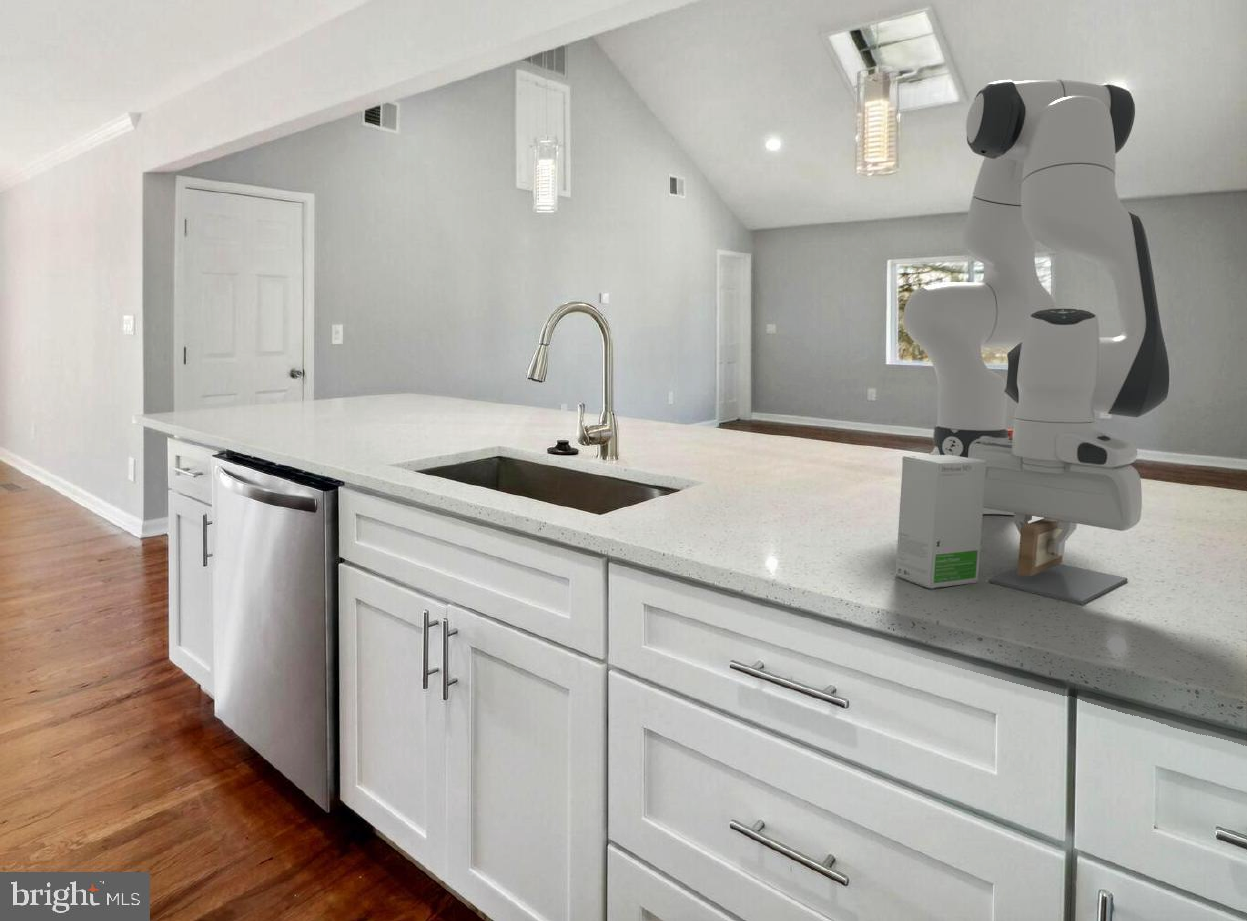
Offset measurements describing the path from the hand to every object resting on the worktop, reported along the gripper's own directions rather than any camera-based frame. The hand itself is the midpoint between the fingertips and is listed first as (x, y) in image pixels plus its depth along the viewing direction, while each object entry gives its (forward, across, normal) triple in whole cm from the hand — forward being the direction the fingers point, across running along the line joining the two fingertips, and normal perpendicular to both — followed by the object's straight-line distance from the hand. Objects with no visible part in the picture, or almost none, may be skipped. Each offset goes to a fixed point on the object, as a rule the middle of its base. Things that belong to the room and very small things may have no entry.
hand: (1042, 551), depth 104 cm
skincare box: (+4, -9, -10) cm, 14 cm away
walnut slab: (+2, 0, 0) cm, 2 cm away
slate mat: (+4, +2, +1) cm, 4 cm away
